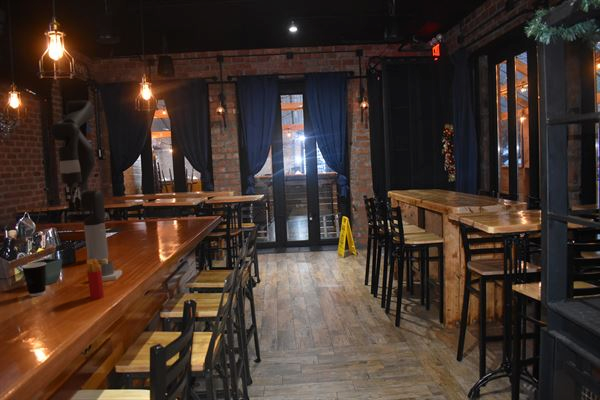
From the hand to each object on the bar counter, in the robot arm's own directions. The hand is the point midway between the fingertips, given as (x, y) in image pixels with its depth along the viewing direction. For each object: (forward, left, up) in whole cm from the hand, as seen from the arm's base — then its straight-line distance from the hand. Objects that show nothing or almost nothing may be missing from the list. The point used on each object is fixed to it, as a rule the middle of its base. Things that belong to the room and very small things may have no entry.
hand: (75, 210), depth 204 cm
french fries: (+41, +17, -27) cm, 52 cm away
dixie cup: (+29, -7, -27) cm, 41 cm away
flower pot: (+12, -10, -27) cm, 31 cm away
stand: (+13, +13, -27) cm, 33 cm away
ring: (+13, +13, -25) cm, 31 cm away
